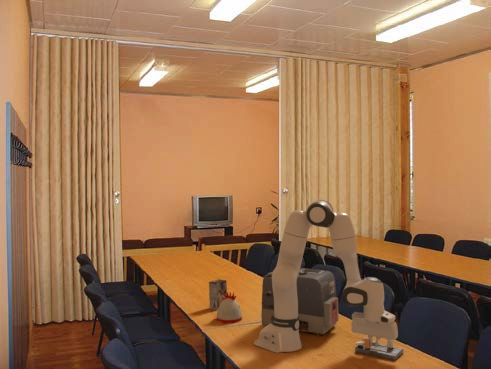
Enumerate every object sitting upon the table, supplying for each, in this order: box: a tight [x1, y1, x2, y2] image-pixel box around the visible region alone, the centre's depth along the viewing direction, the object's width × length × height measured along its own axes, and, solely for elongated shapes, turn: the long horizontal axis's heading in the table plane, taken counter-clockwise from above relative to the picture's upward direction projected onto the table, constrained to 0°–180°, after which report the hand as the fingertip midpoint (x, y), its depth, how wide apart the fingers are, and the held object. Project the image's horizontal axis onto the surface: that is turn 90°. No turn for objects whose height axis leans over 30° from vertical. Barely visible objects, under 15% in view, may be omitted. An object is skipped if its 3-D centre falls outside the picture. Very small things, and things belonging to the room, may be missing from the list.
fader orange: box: [365, 336, 371, 348], centre depth 222 cm, size 2×2×4 cm
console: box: [354, 342, 404, 361], centre depth 222 cm, size 18×11×3 cm, turn 54°
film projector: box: [260, 267, 340, 337], centre depth 258 cm, size 39×29×30 cm
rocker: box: [354, 340, 365, 346], centre depth 224 cm, size 4×2×1 cm, turn 54°
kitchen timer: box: [216, 291, 243, 324], centre depth 274 cm, size 14×14×15 cm
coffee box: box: [208, 279, 228, 311], centre depth 297 cm, size 9×6×16 cm
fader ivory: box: [386, 339, 394, 348], centre depth 222 cm, size 2×2×4 cm
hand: (374, 345), depth 220 cm, fingers closed
